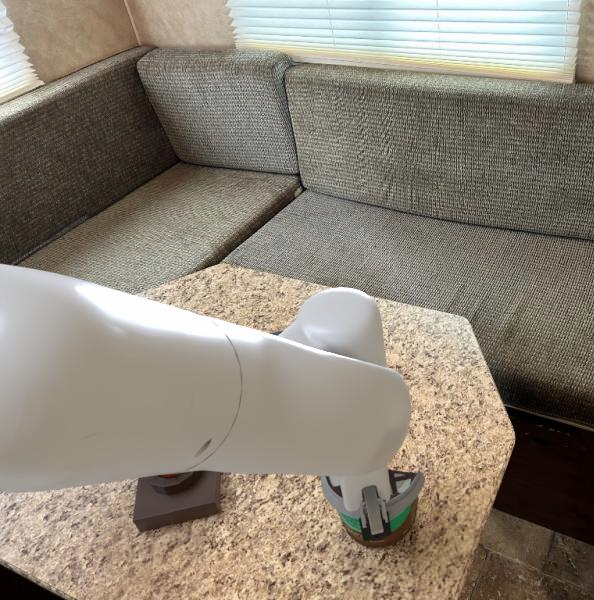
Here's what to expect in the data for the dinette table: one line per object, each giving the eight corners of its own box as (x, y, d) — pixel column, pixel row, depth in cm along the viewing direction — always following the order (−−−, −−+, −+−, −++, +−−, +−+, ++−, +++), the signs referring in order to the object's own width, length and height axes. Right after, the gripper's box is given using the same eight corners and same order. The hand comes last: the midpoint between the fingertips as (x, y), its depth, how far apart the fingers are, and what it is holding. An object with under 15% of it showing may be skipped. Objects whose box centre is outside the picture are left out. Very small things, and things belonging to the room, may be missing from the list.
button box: (220, 513, 77) (210, 493, 74) (140, 532, 76) (127, 513, 73) (221, 438, 86) (212, 418, 83) (149, 454, 85) (138, 434, 82)
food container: (317, 548, 72) (303, 501, 66) (332, 502, 77) (320, 454, 71) (419, 564, 70) (414, 517, 63) (428, 516, 74) (424, 468, 68)
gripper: (305, 351, 65) (329, 452, 76) (325, 487, 52) (350, 585, 63) (374, 337, 66) (387, 439, 77) (410, 468, 53) (420, 568, 64)
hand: (370, 504), depth 70 cm, fingers closed on food container, 7 cm apart
